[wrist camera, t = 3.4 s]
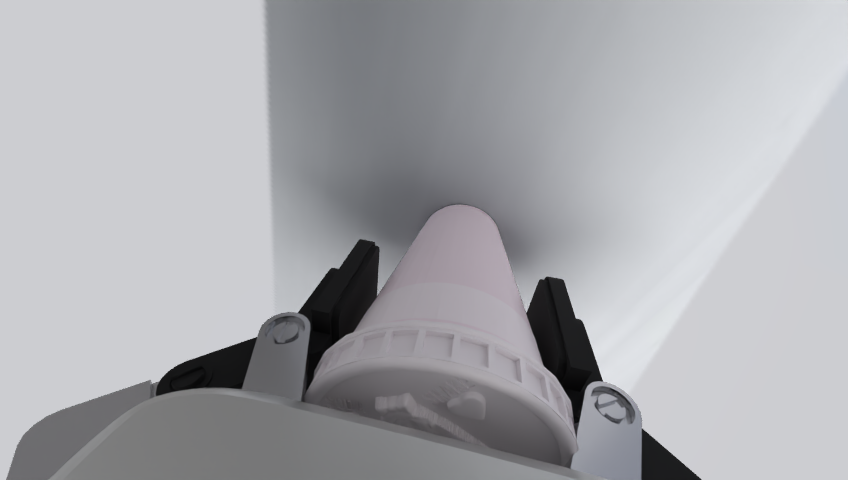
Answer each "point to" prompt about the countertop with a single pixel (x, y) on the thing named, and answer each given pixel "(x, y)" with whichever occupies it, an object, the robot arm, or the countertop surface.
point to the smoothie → (451, 349)
